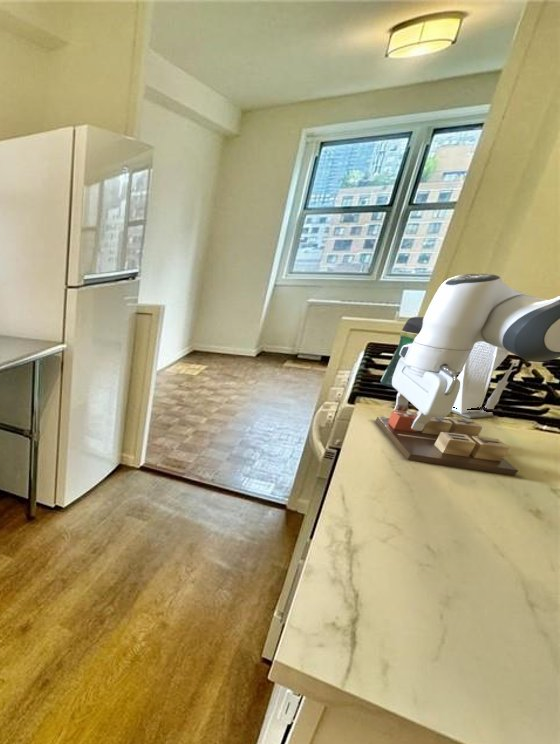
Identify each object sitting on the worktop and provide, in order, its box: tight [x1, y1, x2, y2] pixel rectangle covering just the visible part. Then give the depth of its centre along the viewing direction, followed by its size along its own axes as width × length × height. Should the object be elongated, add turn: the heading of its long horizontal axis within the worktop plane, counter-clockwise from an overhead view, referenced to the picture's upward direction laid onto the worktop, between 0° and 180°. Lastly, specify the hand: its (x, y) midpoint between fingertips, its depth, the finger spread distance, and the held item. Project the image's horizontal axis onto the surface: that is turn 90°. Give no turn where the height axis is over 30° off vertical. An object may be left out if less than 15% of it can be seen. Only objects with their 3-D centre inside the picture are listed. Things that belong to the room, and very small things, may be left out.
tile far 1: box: [471, 435, 510, 462], centre depth 93 cm, size 4×4×3 cm
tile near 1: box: [448, 416, 483, 438], centre depth 101 cm, size 4×4×3 cm
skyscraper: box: [450, 292, 528, 419], centre depth 110 cm, size 8×8×28 cm
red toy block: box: [388, 409, 418, 432], centre depth 104 cm, size 5×4×3 cm
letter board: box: [375, 416, 519, 477], centre depth 100 cm, size 16×20×1 cm
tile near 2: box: [421, 416, 452, 435], centre depth 103 cm, size 4×4×3 cm
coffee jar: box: [380, 316, 424, 389], centre depth 127 cm, size 10×8×19 cm
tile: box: [434, 432, 476, 457], centre depth 94 cm, size 4×4×3 cm
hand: (406, 420), depth 104 cm, fingers open, 8 cm apart
